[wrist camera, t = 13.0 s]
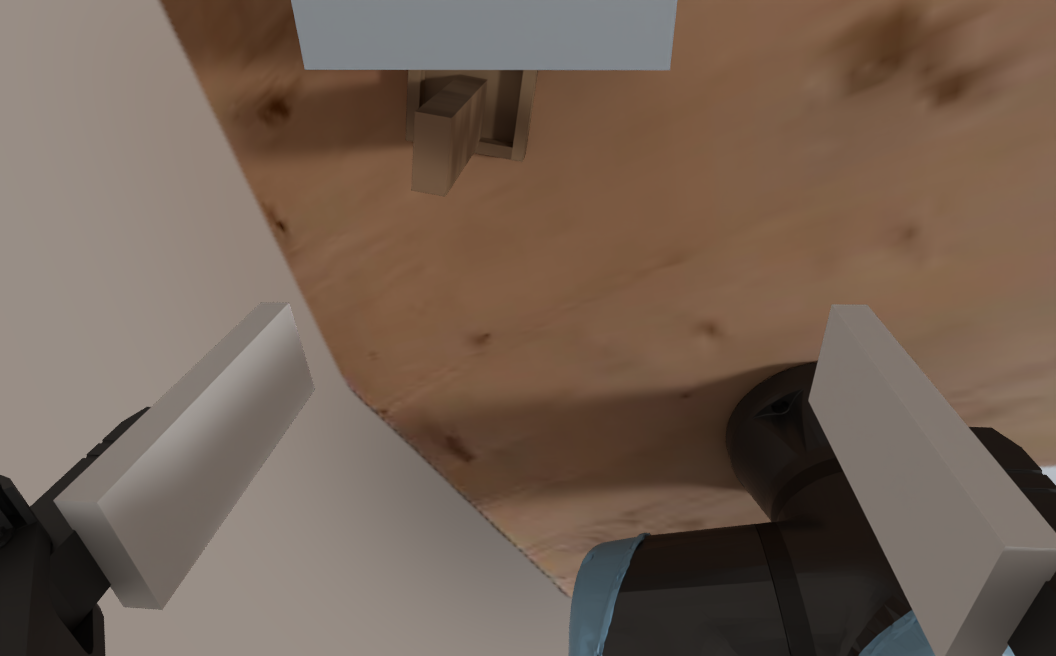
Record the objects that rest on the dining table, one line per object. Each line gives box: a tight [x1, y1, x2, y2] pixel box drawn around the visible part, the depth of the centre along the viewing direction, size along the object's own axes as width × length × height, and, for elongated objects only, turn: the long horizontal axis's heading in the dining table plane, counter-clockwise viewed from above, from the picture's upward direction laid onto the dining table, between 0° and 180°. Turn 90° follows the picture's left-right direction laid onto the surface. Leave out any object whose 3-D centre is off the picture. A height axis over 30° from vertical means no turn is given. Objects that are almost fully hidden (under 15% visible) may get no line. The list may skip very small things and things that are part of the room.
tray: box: [406, 70, 538, 197], centre depth 31 cm, size 16×8×12 cm, turn 171°
